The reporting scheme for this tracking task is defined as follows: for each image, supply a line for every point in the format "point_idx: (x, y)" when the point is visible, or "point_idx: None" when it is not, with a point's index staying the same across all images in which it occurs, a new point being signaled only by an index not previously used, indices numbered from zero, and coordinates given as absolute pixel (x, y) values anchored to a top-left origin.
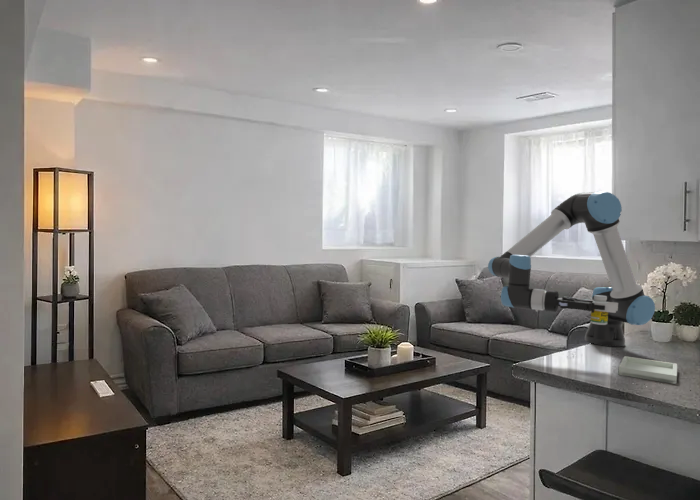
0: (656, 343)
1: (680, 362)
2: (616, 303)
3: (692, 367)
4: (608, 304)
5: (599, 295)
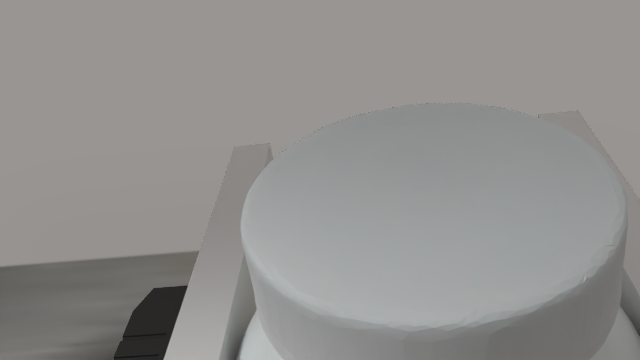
0: None
1: (53, 299)
2: (269, 162)
3: (149, 259)
4: (622, 183)
5: (344, 217)
